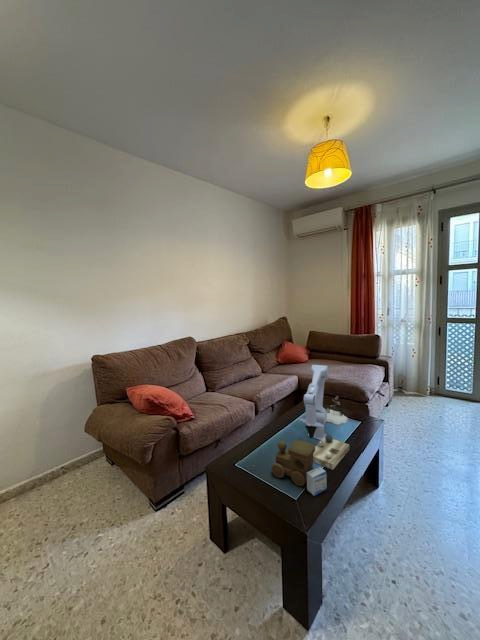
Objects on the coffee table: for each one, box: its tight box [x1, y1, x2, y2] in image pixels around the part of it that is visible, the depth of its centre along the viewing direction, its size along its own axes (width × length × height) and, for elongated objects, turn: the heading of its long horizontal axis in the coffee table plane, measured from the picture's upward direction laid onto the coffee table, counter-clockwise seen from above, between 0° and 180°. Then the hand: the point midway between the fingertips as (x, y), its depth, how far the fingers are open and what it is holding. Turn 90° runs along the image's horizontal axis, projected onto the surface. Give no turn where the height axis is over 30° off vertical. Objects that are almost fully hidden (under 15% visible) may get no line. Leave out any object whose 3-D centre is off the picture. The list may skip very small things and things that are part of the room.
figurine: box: [319, 396, 349, 425], centre depth 180 cm, size 20×18×16 cm
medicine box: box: [306, 466, 328, 497], centre depth 114 cm, size 8×4×9 cm, turn 117°
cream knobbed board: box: [313, 437, 350, 471], centre depth 140 cm, size 14×22×3 cm, turn 137°
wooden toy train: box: [270, 439, 316, 487], centre depth 124 cm, size 20×11×17 cm, turn 54°
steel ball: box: [317, 440, 324, 447], centre depth 143 cm, size 3×3×3 cm
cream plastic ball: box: [325, 451, 331, 458], centre depth 132 cm, size 3×3×3 cm
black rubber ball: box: [325, 434, 334, 442], centre depth 147 cm, size 4×4×4 cm
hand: (311, 437), depth 146 cm, fingers closed
